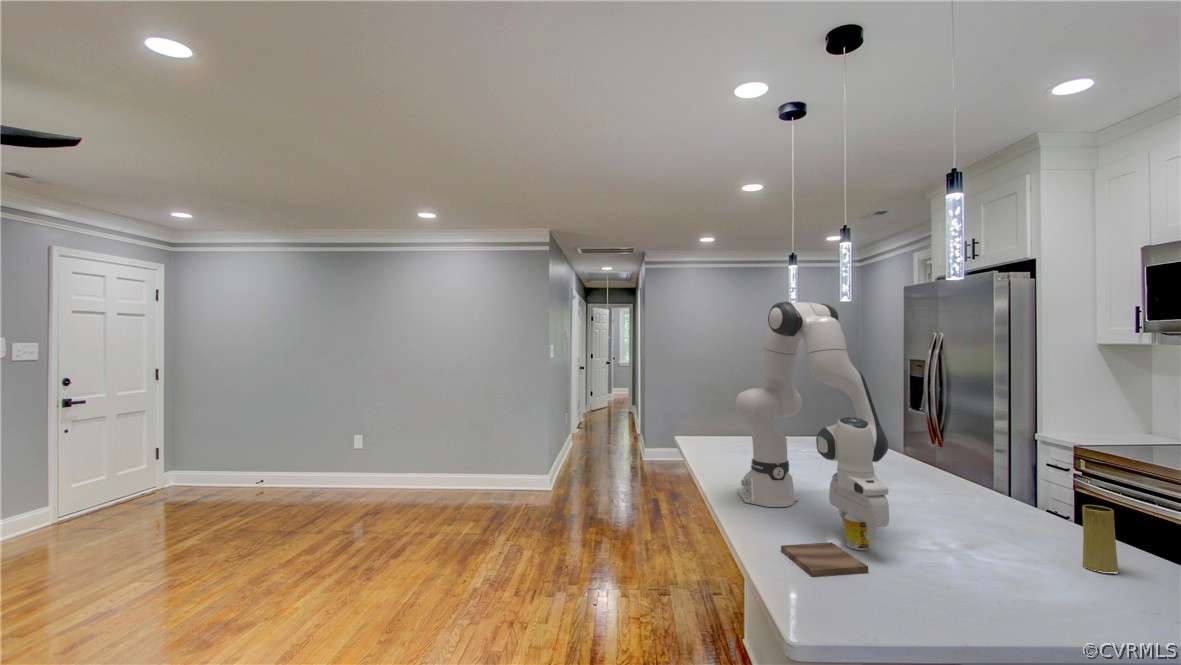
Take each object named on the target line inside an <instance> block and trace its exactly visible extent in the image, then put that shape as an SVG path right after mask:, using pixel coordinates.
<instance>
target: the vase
mask: <svg viewBox="0 0 1181 665" xmlns="http://www.w3.org/2000/svg"><path fill="white" fill-rule="evenodd" d="M1081 507H1082V508H1081V510H1082V534H1083V536H1082V538H1083V543H1082V564H1083V565H1082V564H1081V565H1082V566H1083V567H1084V566H1085V567H1087V568H1089V569H1092V570H1096V571H1102V572H1117V571H1119V572H1120V570H1119V565H1118V563H1119V562H1118V554H1117V553H1118V552H1117V542H1116V529H1115V512H1114V509H1112V508H1109V507H1106V506H1102V505H1095V504H1083V505H1082V506H1081ZM1085 567H1084V568H1085Z"/></svg>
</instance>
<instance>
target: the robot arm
mask: <svg viewBox="0 0 1181 665" xmlns="http://www.w3.org/2000/svg"><path fill="white" fill-rule="evenodd" d="M767 316H768V317H767V323H768V327H767V330H766V332H765V333H766V334H765V335H764V340H763V344H762V350H761V353H760V354H761V355H760V358H759V359H760V360H759V364H758V369H759V371H760V372H761V373H762V375H763V376H764V377H765V379H766V380H765V381H766V385H765V387H757V388H750V389H747V390H746V389H745V390H743V391H741V392H740V393H738V395H737V396H736V399H735V403H734V404H735V410H736V411H735V412H736V413H737V415H738V416H739V417H740V418H741V419H743V421H745V422H746V424H747V426H748V429H749V431H750V433H751V437H752V438H751V439H752V440H751V441H752V456H753V458H751V463H750V465H751V466H750V469H749V471H748V472H747V473H746V474H745V475H743V478H742V479H741V481H740V484H741V486H742V487H738V488H736V492H737V491H738V492H737V494H738V493H739V494H740V495H739V494H738V495H739V496H740V498H741V497H742V498H741V500H744V501H743V502H744V503H745V502H746V503H745V504H750V503H751V504H752V505H757V506H762V507H768V508H769V507H770V508H784V507H785V508H786V507H790V506H793V505H794V504H795V502H798V501H799V499H798V496H796V495H795V489H794V488H795V487H794V480H793V476H792V475H791V474H790V473H789V472H790V462H789V460H788V441H787V437H786V435H785V434H784V433H782V432H781V431H779V429H778V427H777V424H776V420H778V419H786V418H790V417H792V416H795V415H796V414H799V413H800V411H801V409H802V406H803V399H802V397H801V395H800V394H801V393H799V391H798V390H797V389H796V386H795V382H794V373H795V372H794V371H795V365H796V361H797V360H796V359H797V355H798V350H799V344H800V341H801V339H803V340H804V345H805V355H806V362H807V367H808V370H809V373H810V374H811V375H812V376H813V377H814V378H815V379H816V380H817V381H819V382H821V383H823V384H824V385H825V384H826V385H827V386H830V387H833V388H836V389H839V390H841V391H843V392H844V393H845V394H847V396H849V399H850V400H851V402H852V406H853V408H854V412H855V415H856V417H850V416H849V417H842V418H840V419H838V420H837V423H835V424H833V425H830V426H825V427H822V428H821V429H820V430H819V432H818V433H817V434H816V437H815V438H816V450H817V452H818V453H819V454H820V455H821V456H822V457H823V459H825V460H827V461H828V460H829V461H835V462H837V467H836V471H837V472H835V473H833V475H832V476H831V477H832V478H831V479H832V480H831V481H830V482H829V483H830V484H829V498H828V499H829V502H830V505H832V506H833V507H835V508H837V509H838V513H839V516H840V519H841V525H842V526H843V527H844V528H845V515H846V514H848V508H850V509H852V513H853V516H854V517H856V518H858V519H860V520H862V521H864V522H865V523H866V527H868V528H867V531H865V532H864V538H866V539H867V540H869V541H874V540H875V532H876V531H877V530H878V528H886V527H887V526H888V524H889V522H890V514H889V513H890V508H889V506H890V505H889V500H888V498H887V496H888V495H889V487H888V486H887V485H886V484H885V483H884V482H882V481H881V480H880V479H879V477H878V476H877V475H876V474H875V467H874V464H873V463H877V462H879V461H880V460H882V459H883V458H884V457H885V455H886V454H887V453H888V451H889V442H888V438H887V435H886V432H885V431H884V429H883V428H882V425H881V422H880V421H879V417H878V415H877V410H876V408H875V405H874V402H873V399H872V396H871V393H870V390H869V387H868V384H867V382H866V381H867V380H866V379H865V377H864V375H863V373H862V372H861V371H860V370H858V369H856V368H855V366H854V365H853V364H852V362H851V360H850V358H849V355H848V349H847V343H846V338H845V335H844V332H843V329H842V326H841V324H840V322H839V314H838V312H837V310H836V309H835V308H834V307H833V306H831V305H829V304H825V303H816V302H811V301H791V302H790V301H782V302H778V303H775V304H774V305H772V307H771V308H770V309H769V312H768V315H767Z"/></svg>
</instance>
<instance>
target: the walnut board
mask: <svg viewBox="0 0 1181 665" xmlns="http://www.w3.org/2000/svg"><path fill="white" fill-rule="evenodd" d="M780 552H781V553H782V554H784V555H785V556H788V557H787V558H789V559H790V560H791V561H792V560H793V561H792V562H793V563H795V564H796V565H797V566H799V567H800V568H801V569H802V570H803V571H804V572H806V573H807V574H808V575H810V576H811V577H814V578H815V577H828V576H841V575H842V576H843V575H856V574H857V575H858V574H868V573H869V566H868V565H867V564H866V563H864V562H862V561H861V560H860V559H858V558H856V557H854V556H853V555H852V554H850V553H848V552H847V551H846V550H844V549H843V548H840V546H838V545H837V544H835V543H834V542H831V541H829V542H828V541H827V542H816V543H801V544H799V543H798V544H787V545H786V544H784V545H780Z"/></svg>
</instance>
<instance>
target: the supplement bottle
mask: <svg viewBox="0 0 1181 665" xmlns="http://www.w3.org/2000/svg"><path fill="white" fill-rule="evenodd" d="M867 528H868V527H866V523H865V522H864V521H862V520H860V519H858V518H856V517H854V516H853V513H852V509H850V508H848V514H846V515H845V527H844V531H845V532H844V533H845V536H844V537H845V545H846V547H847V548H849V549H852V550H854V551H867V550H868V549H869V548H870V540H867V539H866V538H864V532H865V531H867Z"/></svg>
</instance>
